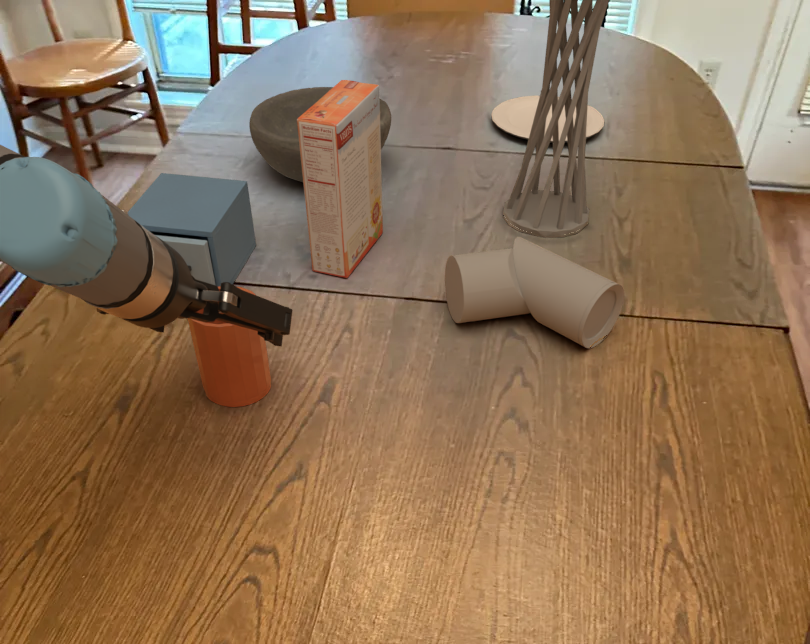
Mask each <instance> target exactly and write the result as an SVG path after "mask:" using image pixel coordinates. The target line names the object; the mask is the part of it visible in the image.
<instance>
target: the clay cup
mask: <svg viewBox="0 0 810 644" xmlns="http://www.w3.org/2000/svg"><path fill="white" fill-rule="evenodd" d="M235 286H236V285H235ZM220 287H221V286H219V287H218V288H219V291H220ZM236 287H238V288H239V289H241V290H243V291H246V292H248V293H251V294H254V295H256V293H254V292H253V290H250V289H247V288H245V287H242V286H236ZM203 310H204V308H203V309H201V310H199V311H197V313H201V314H203ZM186 319H187V323H188V327H189V330H190V331H189V332H190V336H191V340H192V345H193V349H194V353H195V358H196V362H197V367H198V371H199V376H200V379H201V384H202V388H203V390H204V394H205V396H206V397H207V399H209V400H210V401H211V402H212V403H215V404H217V405H219V406H222V407H228V408H229V407H230V408H238V407H239V408H240V407H245V406H250V405H252V404H254V403H257V402H259V401H260V400H262V399H264V398H265V397H266V396H267V395H268V394H269V392H270V391H271V388H272V378H271V377H272V376H271V370H270V362H269V356H268V350H267V343H266V342H267V341H265V340H264V338H263V337H261V336H260V335H258V331H256V330H252V329H248V328H244V327H241V326H237V325H233V324H229V323H226V322H222V321H218V320H215V321H213V322H201V321H198V320H194V319H190V318H186Z"/></svg>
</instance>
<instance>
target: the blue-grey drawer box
mask: <svg viewBox="0 0 810 644" xmlns="http://www.w3.org/2000/svg"><path fill="white" fill-rule="evenodd" d="M127 212H128V215H129V216H130V217H131V218H133V219H134V220H135V221H136V222H138V223H139V224H140V225H142V226H143V227H144V228H146V229H147V230H148V231H153V232H163V233H173V234H182V235H192V236H201V237H207V238H208V243H209V249H210V254H211V259H212V265H213V270H214V275H215V280H216V286H217V287H219V286H221V283H223V282H229V283H231V284H233V285H234V283H235V282H236V280H237V278H238V277H239V275H240V273H241V271H242V270H243V268H244V267H245V265H246V263H247V262H248V260H249V259H250V256H251V255H252V253H253V251H255V248H256V247H257V241H256V234H255V233H256V232H255V227H254V219H253V213H252V206H251V198H250V191H249V184H248V181H247V180H241V179H240V180H239V179H230V178H220V177H209V176H200V175H199V176H197V175H187V174H176V173H169V172H168V173H166V172H165V173H164V172H161V173H160V174H159V175H158V176H157V177H156V178H155V180H153V182H152V183H151V184H150V185H149V187H147V189H146V190H145V191H144V192H143V193H142V195H141V196H140V197H139V198H138V199H137V201H135V203H134V204H133V205H132V207H130V208H129V210H128V211H127Z"/></svg>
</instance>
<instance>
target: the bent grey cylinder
mask: <svg viewBox="0 0 810 644" xmlns="http://www.w3.org/2000/svg"><path fill="white" fill-rule="evenodd" d="M444 287H445V288H444V290H445V299H446V303H447V307H448V311H449V313H450V316H451V319H452V320H453V322H455V323H456V324H462V323H470V322H477V321H483V320H491V319H498V318H506V317H515V316H521V315H528V314H531V316H532V317H533V319H534V320H535V321H537V323H539V324H542V326H545V327H547V328H549V329H550V330H551V331H554V332H556V333H557V334H559V335H562V336H563V337H565V338H567V339H568V340H570V341H572V342H574V343H576V344H578V345H580V346H582V347H584V348H586V349H593V348H595V347H596V346H598V345H599V344H600V343H602V341H603V340H604V339H602V340H600V341H598V342H597V343H595V344H594V345H593V346H592V347H591V348H589V347H590V345H592V344H593V343H594V342H595V341H597V340H598V339H599V338H602V337H603V336H606V335H607V336H608V335H609V334H610V332H612V329H613V328H614V326H615V325H616V323H617V321H618V319H619V317H620V315H621V312H622V309H623V306H624V302H625V288H624V287H623V285H622V284H621V283H618V282H615V281H614V280H612V279H609V278H607V277H605V276H603V275H601V274H600V273H597V272H595V271H592V270H591V269H588V268H586V267H584V266H582V265H580V264H578V263H576V262H574V261H572V260H570V259H567V258H566V257H564V256H561V255H559V254H557V253H555V252H553V251H552V250H549V249H547V248H545V247H543V246H540V245H538V244H536V243H535V242H532V241H530V240H529V239H526V238H523V237H522V236H516V237H515V239H514V241H513V247H509V248H499V249H493V250H484V251H476V252H467V253H460V254H459V253H458V254H452V255H449V256H448V258H447V259H446V263H445V268H444ZM607 336H606V337H607Z"/></svg>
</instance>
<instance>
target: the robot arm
mask: <svg viewBox="0 0 810 644" xmlns="http://www.w3.org/2000/svg"><path fill="white" fill-rule="evenodd" d="M0 262H1V263H3V264H5V265H7V266H8V267H9V266H10V267H11V269H13V270H14V271H16V272H18V273H20V274H22V275H23V276H25V277H28V278H29V279H31V280H34V281H36V282H38V283H39V284H43V285H45V286H49V287H52V288H55V289H56V290H59V291H61V292H64V293H67V294H68V295H71V296H74V297H76V298H78V299H81V300H82V301H84V302H85V303H86V304H87V305H90V306H92V307H94V308H95V309H96V312H97V313H99V314H100V315H104V316H106V315H111V316H114V317H117V318H119V319H122V320H123V321H125V322H128V323H130V324H131V325H135V326H137V327H141V328H145V329H150V330H152V331H155V332H157V333H164V332H165V326H168V325H169V324H171V323H173V322H174V321H176V320H177V319H180V320H184V319H187V318H190V319H194V320H198V321H201V322H213V321H215V320H218V321H222V322H226V323H229V324H233V325H237V326H241V327H244V328H248V329H252V330H256V331H258V335H260V336H261V337H263V338H264V340H265V342H269V343H270V344H272V345H273V346H275V347H283V338H284V336H289V335H290V334H291V327H292V319H293V309H292V308H290V307H288V306H285V305H282V304H279V303H276V302H275V301H271V300H269V299H267V298H264V297H261V296H258V295H256V294H255V293H254V294H255V295H254V294H251V293H248V292H246V291H243V290H241V289H239V288H238V287H239V286H237V287H236V285H235V284H234V283H233V284H231V283H229V282H223V283H221V287H220V291H219V288H218V287H217V286H216V285H213V284H209V283H206V282H203V281H199V280H196V279H195V278H194V277H193V276H192V275H191V273H190V270H189V268H188V266H187V264H186V262H185V260H184V259H183V258H182V256H181V255H180V254H179V253H178V252H177V251H176V250H175V249H173V248H172V247H171V246H169V245H168V244H167V243H165V242H164V241H163V240H161V239H160V238H158V237H157V236H155V235H154V234H152V233H151V232H150V231H148V230H147V229H146V228H144V227H143V226H142V225H140V224H139V223H138V222H136V221H135V220H134V219H133V218H131V217H130V216H129V215H128V211H127V210H126V209H124V208H123V209H122V208H119V206H117V205H116V204H114V202H112V201H111V200H110V199H108V198H107V197H106V196H104V195H103V194H102V193H101V192H100V191H98V190H97V189H96V188H95V186H94V185H93V183H91V182H90V181H89V180H87V179H86V178H85V177H84V176H82V175H81V174H79V173H75V172H71V171H70V170H68V169H67V168H66V167H64V166H62V165H61V164H59V163H56V162H55V161H53V160H52V159H48V158H44V157H41V156H24V155H22V154H20V153H19V152H17V151H14V150H12V149H11V148H8V147H7V146H4V145H2V144H0ZM203 308H204V310H203V314H201V313H197V311H199V310H201V309H203Z"/></svg>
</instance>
